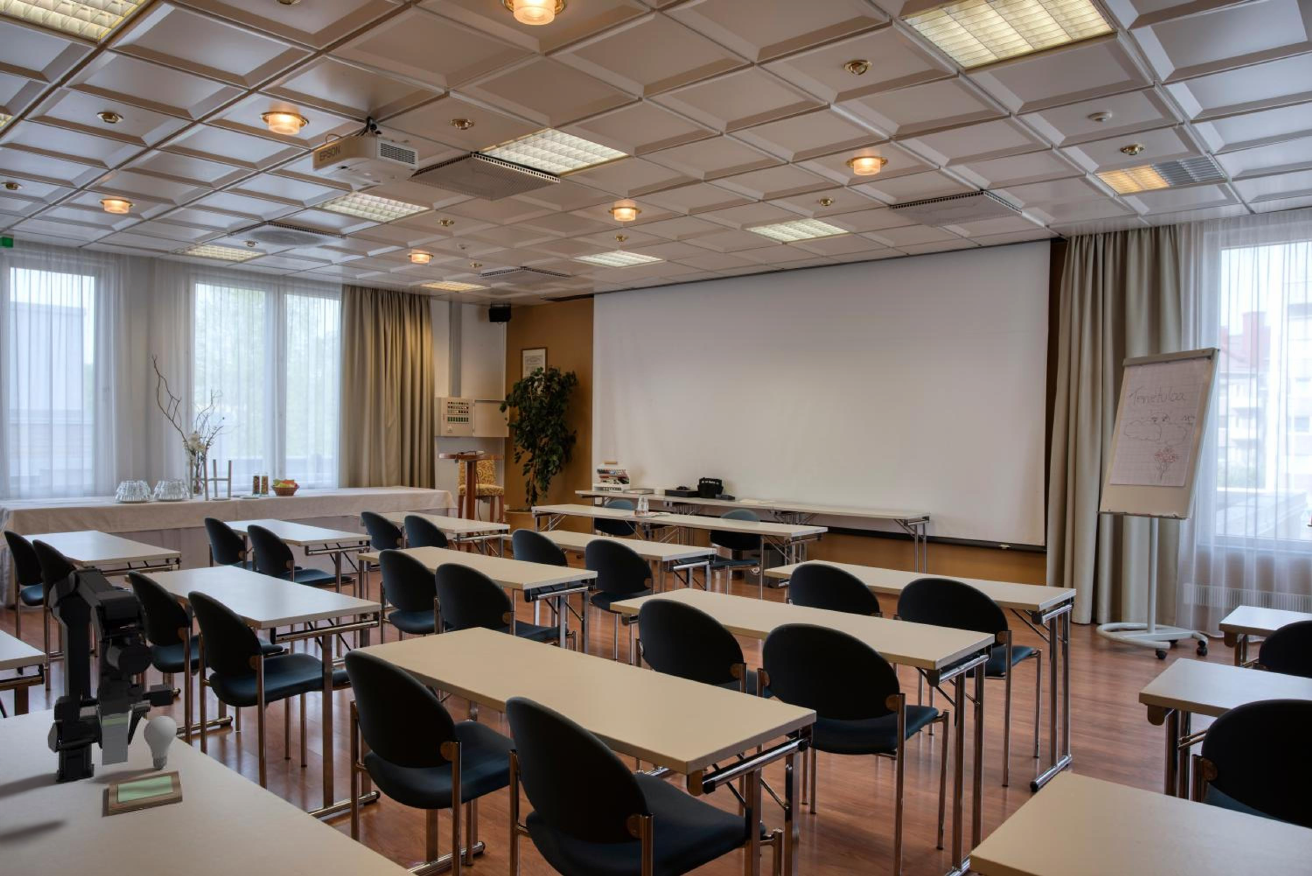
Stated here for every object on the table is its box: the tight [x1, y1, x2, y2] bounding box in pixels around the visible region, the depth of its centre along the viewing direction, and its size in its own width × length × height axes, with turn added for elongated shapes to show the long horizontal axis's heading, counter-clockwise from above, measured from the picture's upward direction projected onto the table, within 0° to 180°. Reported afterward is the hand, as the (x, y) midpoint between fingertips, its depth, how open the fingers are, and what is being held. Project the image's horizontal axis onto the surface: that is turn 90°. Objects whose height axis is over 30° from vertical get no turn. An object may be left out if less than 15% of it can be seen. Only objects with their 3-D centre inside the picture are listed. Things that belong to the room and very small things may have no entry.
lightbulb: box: [143, 715, 178, 770], centre depth 180 cm, size 6×6×11 cm
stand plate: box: [108, 770, 183, 816], centre depth 168 cm, size 14×12×1 cm
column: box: [101, 711, 130, 766], centre depth 160 cm, size 4×4×9 cm
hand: (115, 746), depth 160 cm, fingers closed on column, 4 cm apart
